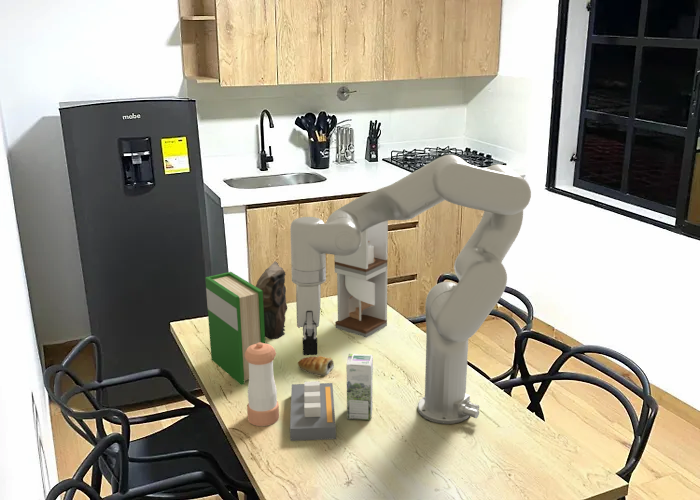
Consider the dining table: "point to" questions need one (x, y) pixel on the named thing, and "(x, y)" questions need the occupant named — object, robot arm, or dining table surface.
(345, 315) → the white tower
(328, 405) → the breaker panel
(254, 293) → the hardback book
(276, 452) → the dining table surface
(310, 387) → the paddle
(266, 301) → the owl
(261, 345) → the pepper shaker
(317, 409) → the paddle
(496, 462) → the dining table surface
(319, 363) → the pastry
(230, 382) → the dining table surface
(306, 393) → the middle paddle
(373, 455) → the dining table surface
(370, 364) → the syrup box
